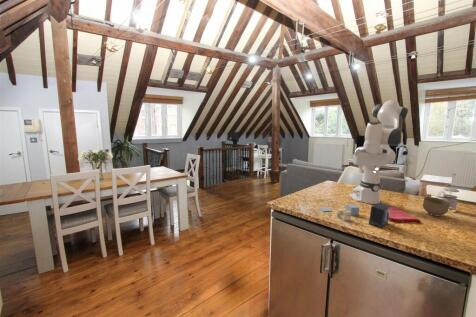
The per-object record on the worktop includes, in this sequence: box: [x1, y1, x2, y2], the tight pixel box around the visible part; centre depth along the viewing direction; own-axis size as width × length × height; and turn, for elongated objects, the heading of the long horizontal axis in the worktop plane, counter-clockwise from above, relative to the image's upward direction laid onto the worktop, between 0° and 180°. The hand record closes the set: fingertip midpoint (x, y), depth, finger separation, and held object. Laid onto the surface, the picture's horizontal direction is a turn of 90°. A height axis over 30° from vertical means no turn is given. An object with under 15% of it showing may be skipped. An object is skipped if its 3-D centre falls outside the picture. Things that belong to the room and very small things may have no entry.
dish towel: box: [371, 204, 422, 223], centre depth 146 cm, size 17×24×3 cm
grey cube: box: [345, 204, 360, 216], centre depth 145 cm, size 5×5×5 cm
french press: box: [436, 172, 460, 210], centre depth 157 cm, size 10×12×25 cm
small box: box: [368, 202, 391, 228], centre depth 130 cm, size 11×6×10 cm, turn 129°
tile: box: [317, 206, 333, 213], centre depth 150 cm, size 6×6×1 cm
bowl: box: [422, 196, 450, 216], centre depth 147 cm, size 13×13×10 cm
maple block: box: [336, 208, 352, 222], centre depth 136 cm, size 5×5×5 cm
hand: (368, 172), depth 140 cm, fingers open, 8 cm apart
